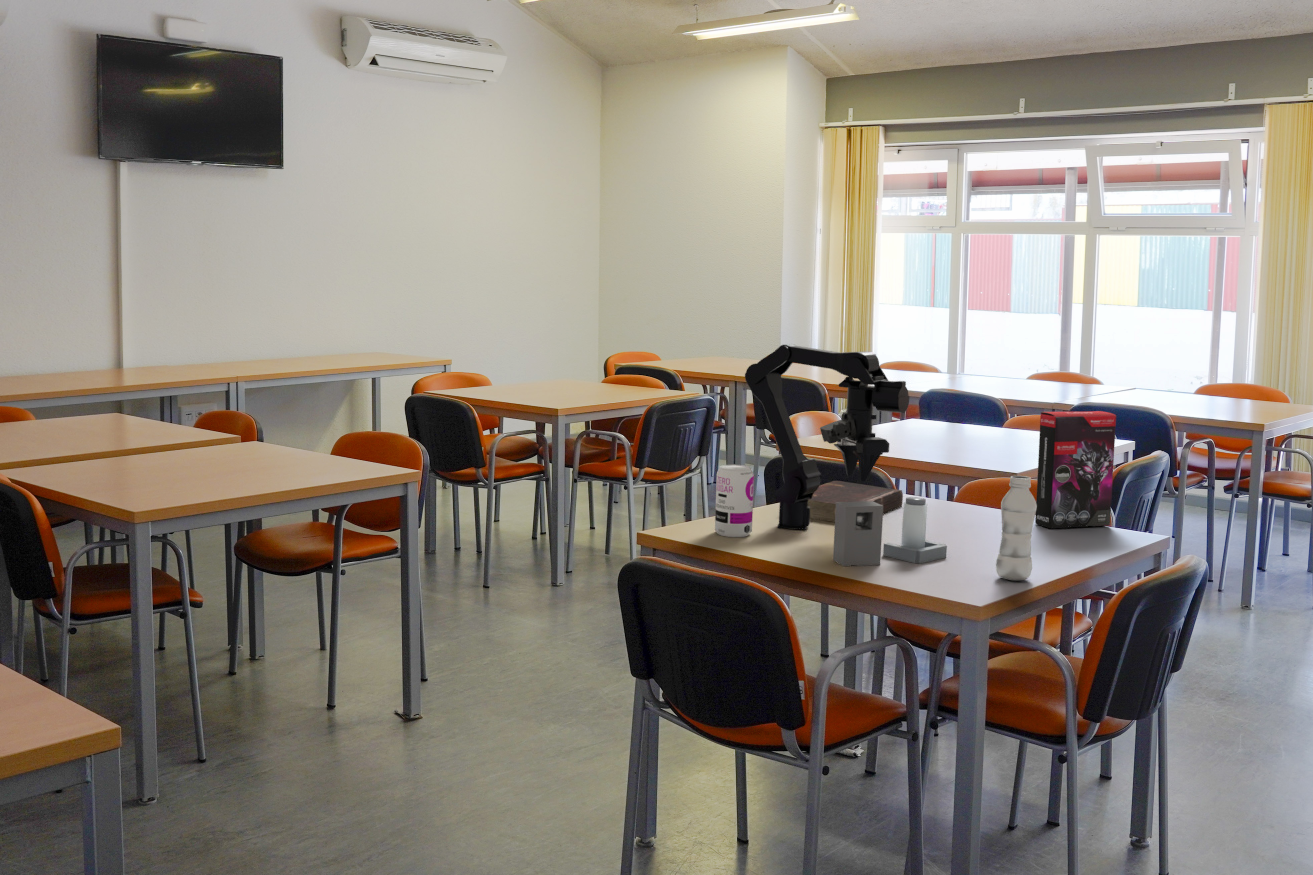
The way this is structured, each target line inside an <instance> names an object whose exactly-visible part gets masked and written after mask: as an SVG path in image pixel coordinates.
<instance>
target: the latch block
mask: <svg viewBox="0 0 1313 875" xmlns="http://www.w3.org/2000/svg"><path fill="white" fill-rule="evenodd" d="M860 512H862V513H864V514H865V515H866V516H867V522H866V524H865V525H864V526H861V527H860V526H857V525H856V513H860ZM883 518H884V514H883V506H882V505H880V504H878V503H875V502H873V501H858V502H836V510H835V522H834V535H833V553H832V560H833V561H834V562H835V561H836V562H835V563H837V562H838V563H837V564H839V565H840V564H841V565H840V566H842V565H843V566H842V567H852V566H851V565H861V566H876V565H879V566H880V565H881V558H882V557H881V553H882V541H883V540H882V539H883V538H882V537H883V536H882V535H883V520H884V519H883ZM871 564H872V565H871Z"/></svg>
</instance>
